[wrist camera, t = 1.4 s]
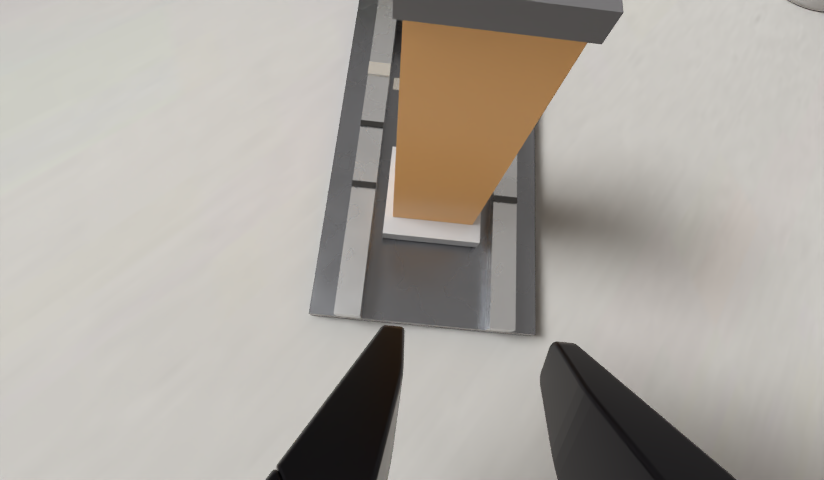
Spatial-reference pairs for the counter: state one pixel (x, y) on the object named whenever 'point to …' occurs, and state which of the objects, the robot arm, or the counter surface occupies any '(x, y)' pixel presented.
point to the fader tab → (475, 102)
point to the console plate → (410, 260)
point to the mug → (810, 4)
